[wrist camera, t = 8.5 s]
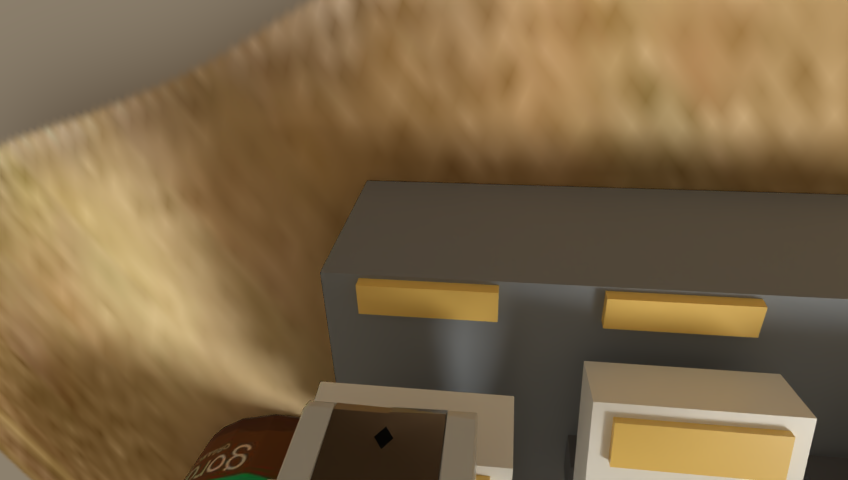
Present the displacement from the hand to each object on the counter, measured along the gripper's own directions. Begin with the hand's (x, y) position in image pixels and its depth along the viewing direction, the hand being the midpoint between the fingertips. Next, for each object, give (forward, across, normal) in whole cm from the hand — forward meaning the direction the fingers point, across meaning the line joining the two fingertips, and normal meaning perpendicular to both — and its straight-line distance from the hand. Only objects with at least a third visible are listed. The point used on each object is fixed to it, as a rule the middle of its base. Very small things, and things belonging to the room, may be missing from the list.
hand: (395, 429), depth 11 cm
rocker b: (+2, -6, +5) cm, 7 cm away
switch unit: (+9, -6, +5) cm, 11 cm away
